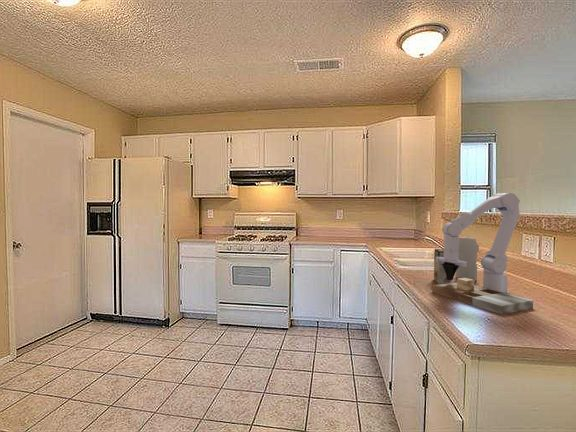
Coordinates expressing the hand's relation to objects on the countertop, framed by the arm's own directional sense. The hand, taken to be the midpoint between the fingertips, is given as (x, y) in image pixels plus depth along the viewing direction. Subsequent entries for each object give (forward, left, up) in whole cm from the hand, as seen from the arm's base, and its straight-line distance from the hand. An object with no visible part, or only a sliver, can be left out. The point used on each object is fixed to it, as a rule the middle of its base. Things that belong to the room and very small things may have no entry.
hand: (449, 279), depth 139 cm
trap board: (0, +14, -5) cm, 14 cm away
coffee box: (-11, -13, -5) cm, 18 cm away
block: (0, +8, -2) cm, 8 cm away
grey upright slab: (-28, -13, -5) cm, 32 cm away
